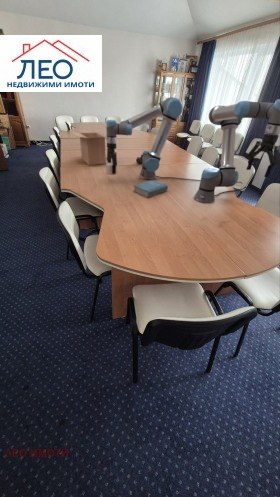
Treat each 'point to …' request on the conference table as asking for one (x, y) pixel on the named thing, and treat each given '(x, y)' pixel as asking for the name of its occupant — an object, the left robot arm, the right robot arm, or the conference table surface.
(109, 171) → the canister
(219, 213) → the conference table surface
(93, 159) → the box
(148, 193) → the book
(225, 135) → the right robot arm
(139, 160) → the laser sight
